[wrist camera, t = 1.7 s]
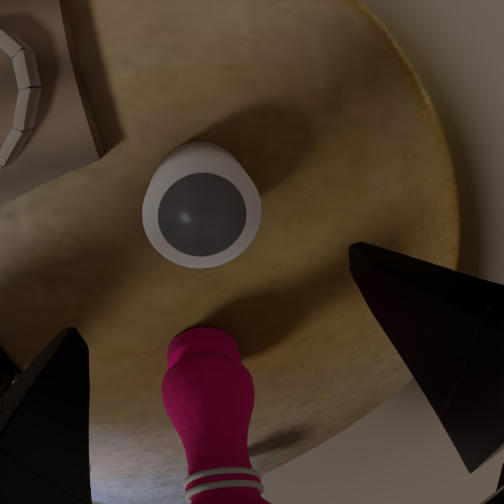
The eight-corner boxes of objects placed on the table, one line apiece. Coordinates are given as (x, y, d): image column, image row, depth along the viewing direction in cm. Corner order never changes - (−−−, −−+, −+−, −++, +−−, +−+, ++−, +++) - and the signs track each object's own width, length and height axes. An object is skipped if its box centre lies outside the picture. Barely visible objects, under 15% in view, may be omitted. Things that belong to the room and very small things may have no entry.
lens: (253, 215, 21) (272, 251, 17) (168, 240, 21) (165, 282, 17) (232, 130, 18) (247, 142, 14) (139, 158, 18) (124, 179, 14)
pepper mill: (259, 349, 28) (331, 565, 10) (202, 387, 29) (237, 584, 12) (204, 306, 24) (256, 584, 7) (145, 352, 25) (152, 587, 8)
